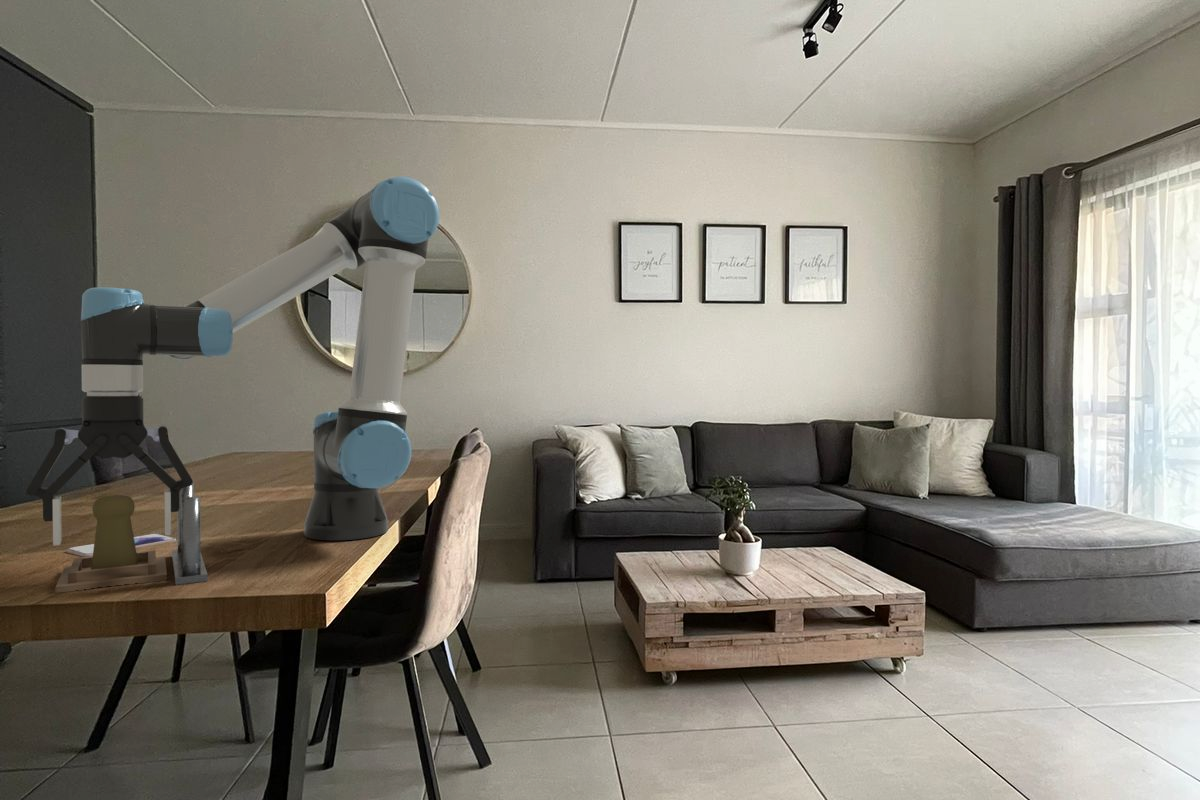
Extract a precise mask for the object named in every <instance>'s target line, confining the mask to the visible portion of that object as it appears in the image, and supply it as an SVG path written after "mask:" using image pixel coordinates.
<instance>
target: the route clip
mask: <svg viewBox="0 0 1200 800" xmlns="http://www.w3.org/2000/svg"><path fill="white" fill-rule="evenodd" d="M176 513H177V514H176V516H177V517H176V518H177V519H176V520H177V521H176V522H177V523H176V524H177V525H176V526H177V528H176V529H177V532H176V534H177V539H176V541H177V549H171V561H172V568H173V569H172V570H173V575H174V584H176V585H175V586H177V585H178V584H179V585H186V584H194V583H195V584H196V583H203V582H208V581H209V580H208V571H207V568H206V565H205V562H204V558H203V555H202V552H201V497H200V496H195V483H194V482H193V483H192V485H191V486H187V487H184V488H182V489H181V490H180V492H179V510H178V512H176Z"/></svg>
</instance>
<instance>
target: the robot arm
mask: <svg viewBox="0 0 1200 800" xmlns="http://www.w3.org/2000/svg"><path fill="white" fill-rule="evenodd" d="M439 223H440V208H439V205H438V202H437V200H436V198H435V196H434V195H433V194H432V193H431V191H430V189H428V187H426V185H424V184H423V183H421V182H420V181H419V180H416V179H415V178H411V177H408V176H393V177H391V178H386V179H384V180H381V181H379V182H378V183H376V185H375V186H374V187H373V188H372V189H371V190H369V191H368V192H366V193H364V194H363V195H362V196H361V197H359V198H358V199H357V200H356V201H355V202H353V203H352V204H351V205H350V206H349V207H348V208H347V209H345V210H344V211H343V212H342V213H340V214H338V216H335V217H334V218H333V219H331V220H330V221H327V222H326V223H324V224H323V226H322V230H321V232H319V233H318V234H316V235H314V236H311V237H310V238H308V239H307V240H305V241H303V242H301V243H299V244H298V245H297V244H296V245H295V246H294V247H292V248H290V249H288V250H287V251H285V252H283V253H281V254H279V255H278V256H275V257H274V258H272V259H270V260H268V261H267V262H265V263H263V264H261V265H259V266H257V267H256V268H254V269H252V270H250V271H248V272H247V273H244V274H242V275H241V276H239V277H237V278H235V279H234V280H231V281H230V282H229V283H227V284H225V285H223V286H220V288H216V289H215V290H213V291H212V292H210V293H209V294H206V295H205V296H203V297H201V298H199V299H197V300H196V301H194V302H192V303H189V304H188V305H187V306H173V305H172V306H169V305H154V304H150V303H145V301H144V298H143V294H142V292H140V290H139V291H138V290H135V289H132V288H131V289H130V288H120V287H119V288H118V287H106V286H105V287H103V286H102V287H101V286H100V287H90V288H88V289H86V290H85V291H84V292H83V293H82V295H81V310H80V311H81V312H80V313H81V316H80V332H81V333H80V335H81V339H80V341H81V391H82V392H83V393H86V395H85V396H83V398H81V427H80V429H79V430H77V429H66V428H64V427H60V428H57V429H56V430H55V432H54V437H53V445H52V446H51V448H50V450H49V451H48V454H47V455H46V456H45V458H44V460H43V462H42V463H41V465H40V466H39V468H38V469H37V472H36V473H35V475H34V477H33V478H32V480H31V482H30V484H29V485H28V486H27V488H26V489H25V493H26V494H27V495H29V496H33V497H37V498H40V499H41V500H42V519H43V521H44V522H45V523H46V522H52V546H60V545H61V544H62V539H63V538H62V496H55V495H56V494H57V493H58V492H59V491H60V490H61V489H62V488H63V487H64V486H65V485H66V483H67V482H69V481H70V479H71V478H73V477H74V475H75V474H76V473H77V472H78V471H80V470H81V468H82V467H83V466H84V465H85V464H86V463H87V462H88V461H89V460H90V459H91V458H92V457H93V456H95V457H96V458H98V459H101V460H102V459H110V458H119V459H125V458H129V457H130V456H132V455H133V456H134V457H135V458H137V459H138V460H139V461H140V462H141V463H142V464H143V465H144V466H145V467H147V469H149V470H150V472H152V473H153V474H154V475H155V476H156V477H157V478H158V479H159V480H160V482H162V483H163V484H164V485H165V486H167V488H169V489H164V536H172V513H177V512H178V510H179V492H180V490H181V489H182V488H184V487H187V486H191V485H192V483H194V481H193V478H192V477H191V475H190V473H189V472H188V470H187V468H186V466H185V465H184V463H183V462H182V460H181V459H180V457H179V455H178V453H177V452H176V450H175V448H174V446H173V445H172V444H171V442H170V438H169V433H168V432H169V431H168V428H167V427H166V426H165V425H160V426H158V427H151V428H146V427H145V423H144V398H143V397H142V396H141V395H140V394H139V393H141V392H143V391H144V361H143V359H144V355H150V356H155V355H159V356H170V357H172V358H173V359H180V360H188V359H191V358H193V357H205V358H212V357H227V356H228V355H229V354H230V352H231V350H232V347H233V340H234V339H233V337H234V336H233V335H234V333H236V332H237V331H239V330H241V329H243V328H245V327H246V326H247V325H249V324H251V323H252V322H255V321H257V320H258V319H260V318H262V317H264V316H265V315H267V314H268V313H271V312H272V311H274V310H276V309H277V308H279V307H280V306H282V305H283V304H286V303H287V302H290V301H291V300H293V299H294V298H296V297H298V296H299V295H301V294H303V293H305V292H307V291H308V290H310V289H312V288H313V287H315V286H316V285H318V284H320V283H322V282H325V280H327V279H329V278H330V277H332V276H334V275H336V274H338V273H339V272H341V271H343V270H345V269H350V270H356V269H357V268H359V267H361V266H362V265H364V264H365V266H364V273H363V282H362V291H361V298H360V299H361V300H360V307H359V316H358V324H357V330H356V338H355V347H354V355H353V364H352V371H351V380H350V388H349V396H348V398H347V399H346V400H345V401H343V402H342V403H340V404H339V405H338V409H337V411H336V410H335V411H326V412H322V413H319V414H317V415H316V416H315V417H314V420H313V428H312V434H313V496H312V499H311V502H310V504H309V509H308V511H307V514H306V517H305V520H304V523H303V535H304V537H306V538H308V539H311V540H316V541H317V540H319V541H348V540H349V541H350V540H361V539H367V538H373V537H378V536H380V535H384V534H387V532H388V531H389V522H388V521H389V520H388V516H387V513H386V509H385V507H384V504H383V500H382V498H381V496H380V491H379V489H381V488H386V487H388V486H390V485H392V484H393V483H395V482H397V480H399V479H400V478H401V477H402V476H403V475H404V474H405V472H406V470H408V467H409V464H410V462H411V460H412V459H411V458H412V445H411V440H410V439H409V437H408V435H407V433H406V430H407V418H408V412H407V411H406V410H405V408H404V407H403V406H402V404H401V394H402V387H403V379H404V370H405V363H406V362H405V361H406V354H407V347H408V338H409V337H408V336H409V329H410V321H411V313H412V305H413V304H412V303H413V296H414V295H413V294H414V287H415V279H416V272H417V270H418V269H419V268H421V267H423V265H425V264H426V261H427V253H428V246H429V239H431V237H432V236H433V235H434V234H435V232H436V230H437V228H438V226H439ZM148 436H149V437H151V438H152V440H153V441H154V442H159V444H160V446H161V448H162V450H163V451H164V453H165V454H166V456H167V458H168V459H169V461H170V463H171V464H172V466H173V468H174V469H175V471H176V472H177V475H178V476H179V478H180V479H178V480H176V479H174V477H173V476H171V474H169V473H168V472H167V470H165V469H164V468H163V467H162V466H161V465H160V464H159V463H158V462H157V461H156V460H155V459H154V458H152V456H151V455H150V454H149V453H147V451H146V450H145V449H144V448H143V447H141V445H142V443H143V442H144V441H145V439H146V438H147V437H148ZM76 438H77V439H78V440H80V442H81V443H82V444H83V445H84V446H85V447H86V448H85V450H83V452H82V453H81V454H80V455H79V456H78V457H77V458H76V459H75V460H74V461H73V462H72V463H71V464H70V465H69V466H68V467H67V468H66V469H65V470H64V471H63V472H62V473H61V474H60V475H59V476H58V477H57V478H56V479H55V480H54V481H53V482H52V483H51V484H50V485H49V486H48V487H44V486H43V484H44V483H45V480H46V479H47V477H49V476H48V475H49V474H50V472H51V471H52V469H53V467H54V465H55V463H56V462H57V460H58V459H59V457H60V456H61V454H62V452H63V450H64V448H65V446H66V445H70V444H72V442H73V440H74V439H76Z"/></svg>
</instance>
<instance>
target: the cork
mask: <svg viewBox="0 0 1200 800" xmlns="http://www.w3.org/2000/svg"><path fill="white" fill-rule="evenodd" d="M135 505H136V504H135V501H134V500H133V498H132V497H131V496H129V495H123V494H113V495H112V494H111V495H106V496H101V497H98V498H97V499H96V500H94V502H93V505H92V514H93V517H94V518H95V519H96V520H97V521H96V529H95V534H94V535H95V536H94V543H93V544H94V550H93V558H92V565H91V570H92V569H101V568H111V567H121V566H130V565H139V564H138V558H137V553H136V552H137V548H136V547H135V541H134V537H135V536H134V531H133V526H132V525H133V524H132V518H131V517H132V515H133V514H134V512H135V508H136V507H135Z"/></svg>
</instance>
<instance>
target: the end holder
mask: <svg viewBox="0 0 1200 800" xmlns="http://www.w3.org/2000/svg"><path fill="white" fill-rule="evenodd" d="M136 553H137V558H138V564H139V565H130V566H121V567H111V568H101V569H92V570H91V565H92V558H93V556H90V557H83V556H79V557H74V558H73V561H72V563H71V565H67V566H64V567H63V570H62V572H61V573H60V576H59V578H58V580H57V583H56V585H55V591H54V592H55V594H59V593H60V594H61V593H68V592H76V590H78V591H84V589H86V590H92V589H91V588H95V589H98V588H97V587H103V588H107V587H106V586H112V587H116V586H115V585H121V586H125V585H124V584H129V585H136V584H135V583H138V584H144V583H145V584H146V583H153V582H155V583H156V582H163V581H167V580H168V572H167V564H166V563H167V562H166V556H165V555H163V556H157V555H156V554H157V553H156V550H155V549H153V550H144V551H136Z"/></svg>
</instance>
